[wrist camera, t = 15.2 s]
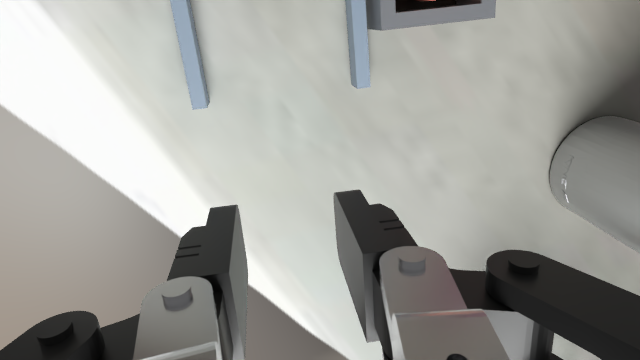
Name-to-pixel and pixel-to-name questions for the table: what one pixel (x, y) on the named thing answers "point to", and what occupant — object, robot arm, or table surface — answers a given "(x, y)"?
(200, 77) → the track
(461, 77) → the table surface
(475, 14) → the button housing
